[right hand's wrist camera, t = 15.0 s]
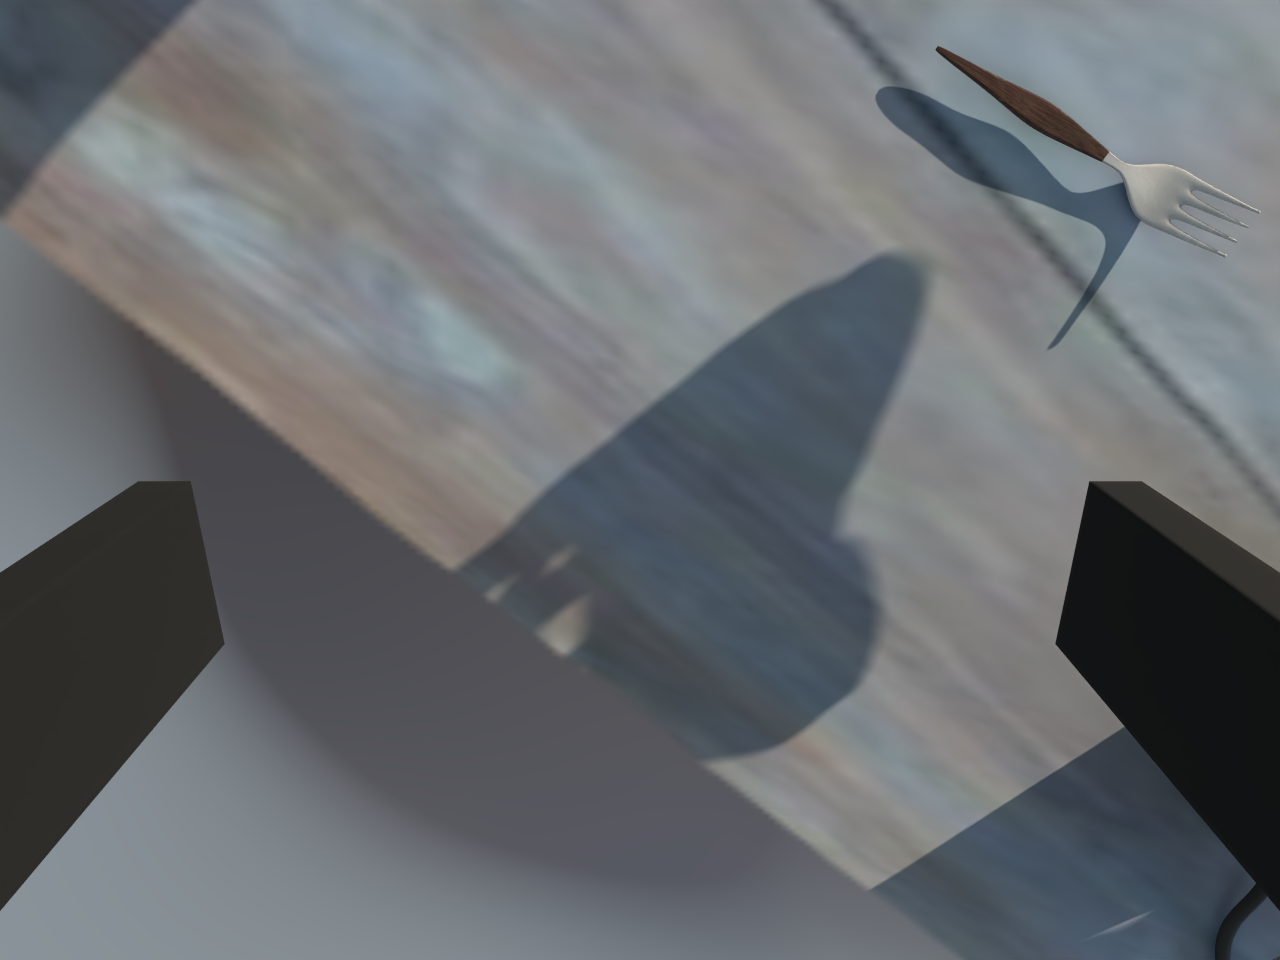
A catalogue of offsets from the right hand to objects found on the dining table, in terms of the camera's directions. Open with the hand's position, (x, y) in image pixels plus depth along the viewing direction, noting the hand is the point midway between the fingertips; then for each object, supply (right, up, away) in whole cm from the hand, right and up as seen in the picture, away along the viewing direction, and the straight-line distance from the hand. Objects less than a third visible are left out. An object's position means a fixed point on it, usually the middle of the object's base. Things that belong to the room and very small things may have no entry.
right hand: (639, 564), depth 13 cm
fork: (+20, +16, +25) cm, 36 cm away
